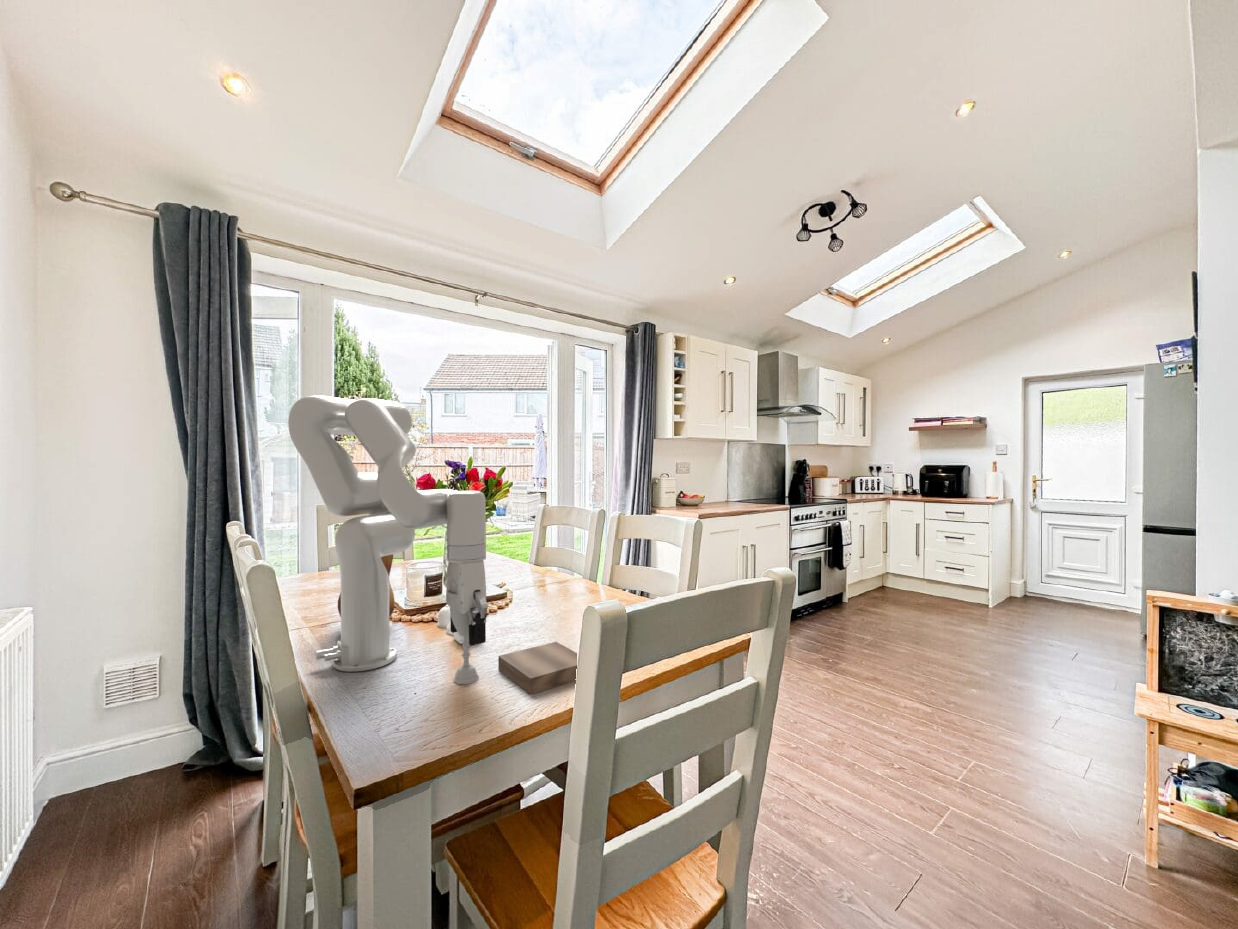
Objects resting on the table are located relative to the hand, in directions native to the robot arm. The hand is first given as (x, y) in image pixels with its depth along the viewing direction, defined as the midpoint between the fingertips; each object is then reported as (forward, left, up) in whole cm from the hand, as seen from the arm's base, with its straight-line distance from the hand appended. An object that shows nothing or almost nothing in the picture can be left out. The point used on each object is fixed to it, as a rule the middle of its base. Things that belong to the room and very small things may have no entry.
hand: (467, 637), depth 105 cm
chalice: (0, 0, -9) cm, 9 cm away
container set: (+9, +29, -9) cm, 32 cm away
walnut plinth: (+14, -7, -8) cm, 17 cm away
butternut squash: (-9, +45, -9) cm, 47 cm away
